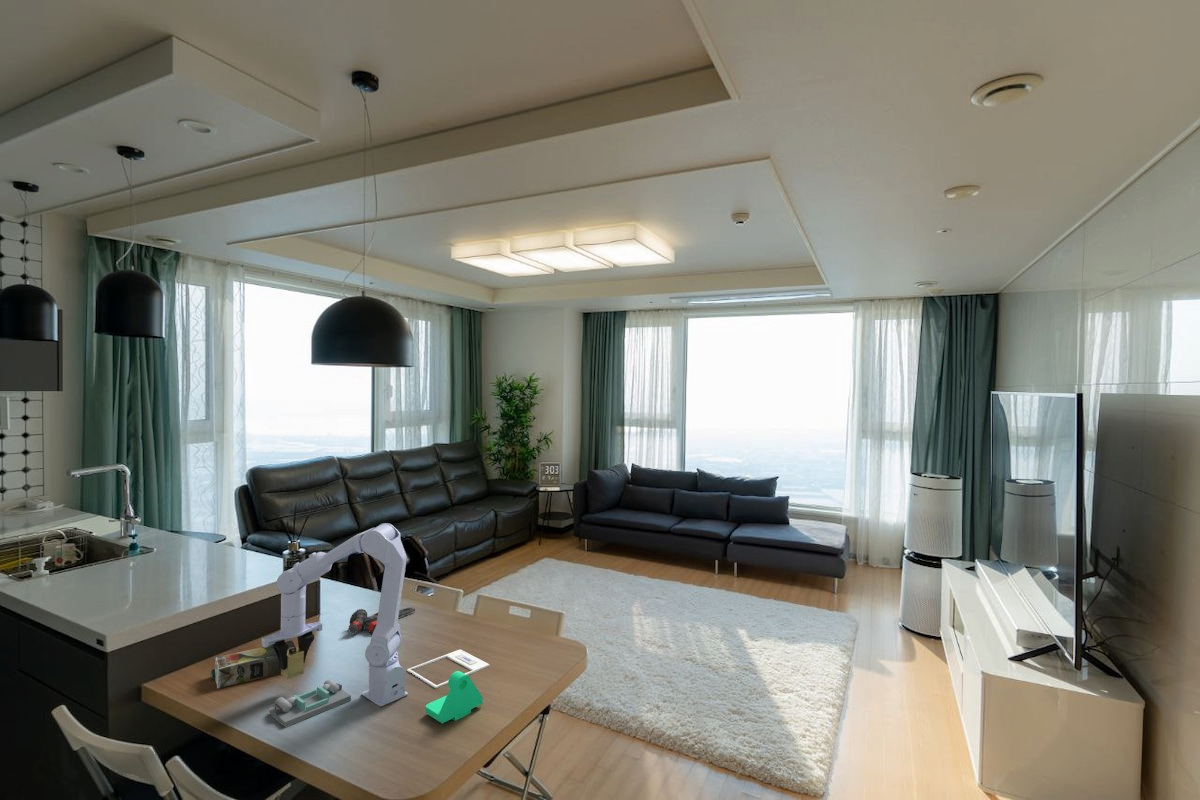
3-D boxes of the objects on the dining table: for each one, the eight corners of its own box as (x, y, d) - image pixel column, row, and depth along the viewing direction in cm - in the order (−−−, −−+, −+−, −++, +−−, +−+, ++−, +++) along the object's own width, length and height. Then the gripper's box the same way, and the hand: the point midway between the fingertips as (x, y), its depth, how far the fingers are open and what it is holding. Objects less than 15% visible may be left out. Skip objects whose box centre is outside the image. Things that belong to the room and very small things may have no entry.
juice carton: (212, 691, 150) (213, 668, 150) (210, 677, 158) (210, 655, 158) (297, 671, 162) (298, 649, 162) (291, 659, 170) (291, 638, 170)
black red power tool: (366, 650, 181) (338, 632, 188) (429, 626, 203) (401, 611, 210) (369, 630, 180) (341, 613, 188) (432, 609, 202) (404, 595, 210)
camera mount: (464, 697, 149) (464, 658, 149) (482, 707, 144) (483, 667, 144) (423, 716, 140) (424, 674, 140) (442, 728, 135) (442, 684, 135)
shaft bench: (350, 700, 146) (351, 686, 146) (285, 727, 134) (285, 712, 134) (333, 688, 152) (334, 675, 152) (269, 713, 140) (269, 699, 140)
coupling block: (303, 673, 150) (303, 647, 150) (287, 679, 147) (287, 652, 147) (296, 669, 153) (297, 643, 153) (281, 674, 150) (281, 648, 150)
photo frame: (489, 663, 167) (435, 686, 153) (489, 667, 167) (435, 690, 153) (460, 648, 176) (407, 668, 163) (459, 652, 176) (406, 672, 163)
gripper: (314, 602, 158) (313, 651, 158) (257, 617, 147) (256, 670, 147) (326, 608, 154) (325, 659, 154) (268, 624, 142) (267, 679, 142)
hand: (292, 665), depth 150 cm, fingers closed on coupling block, 4 cm apart
